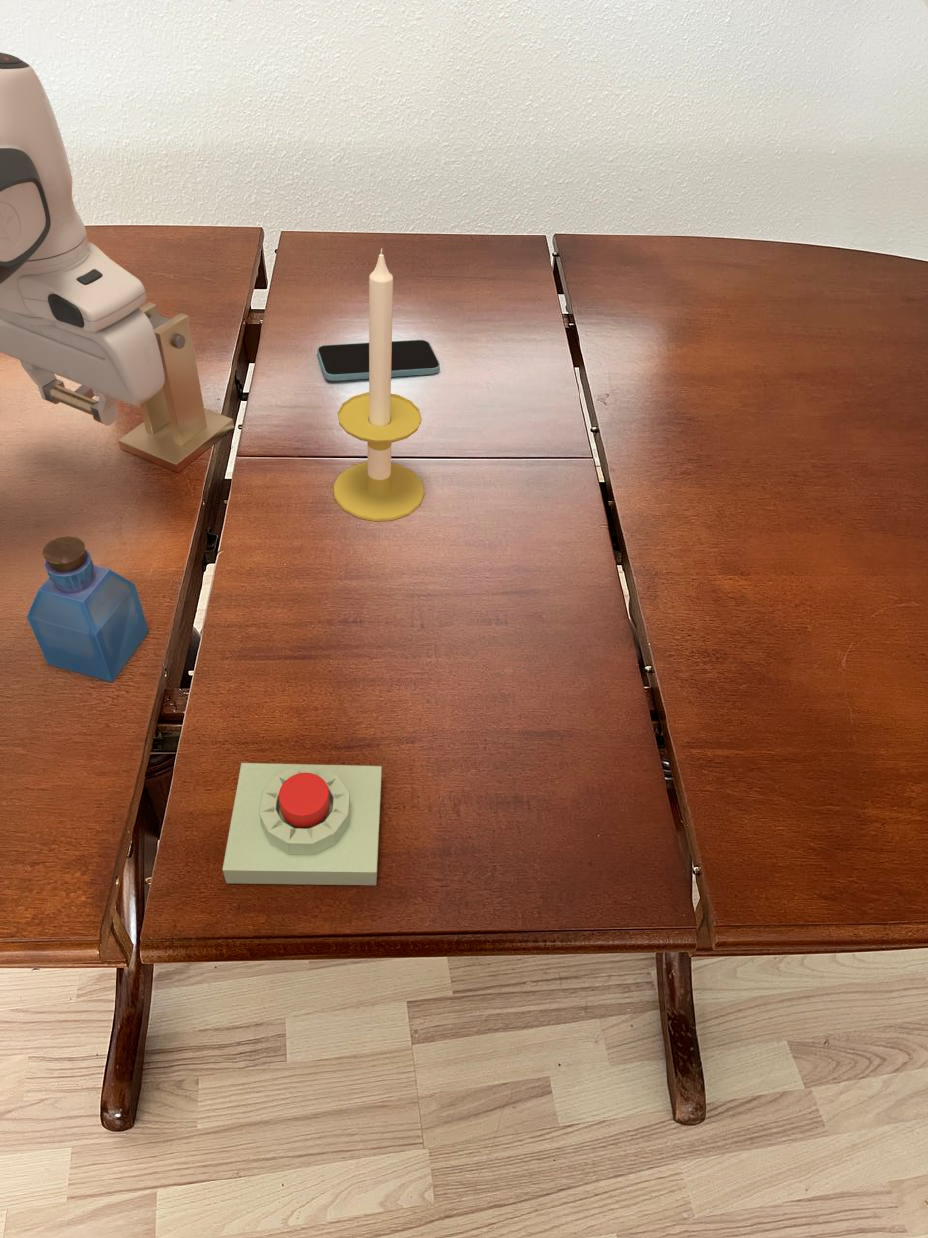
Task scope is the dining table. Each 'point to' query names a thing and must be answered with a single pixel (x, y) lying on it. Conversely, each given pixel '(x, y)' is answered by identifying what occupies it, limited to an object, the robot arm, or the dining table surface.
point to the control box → (305, 829)
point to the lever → (84, 394)
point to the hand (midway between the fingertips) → (81, 409)
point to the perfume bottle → (85, 613)
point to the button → (304, 799)
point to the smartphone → (355, 360)
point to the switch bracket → (175, 404)
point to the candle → (379, 423)
